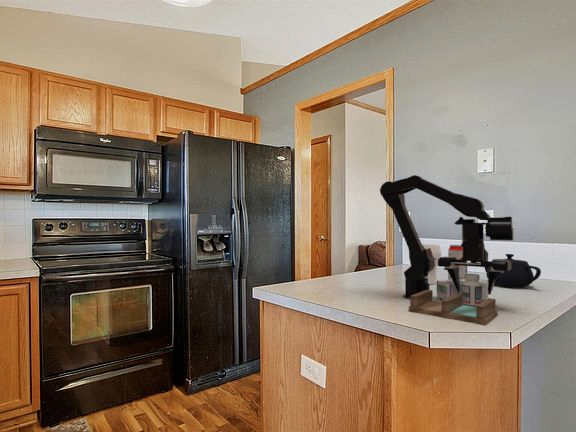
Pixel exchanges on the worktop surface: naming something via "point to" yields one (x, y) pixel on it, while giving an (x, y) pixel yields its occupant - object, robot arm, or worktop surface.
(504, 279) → the teapot
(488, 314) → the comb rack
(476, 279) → the pill bottle
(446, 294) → the syrup box
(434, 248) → the cup
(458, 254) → the beer can
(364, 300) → the worktop surface
